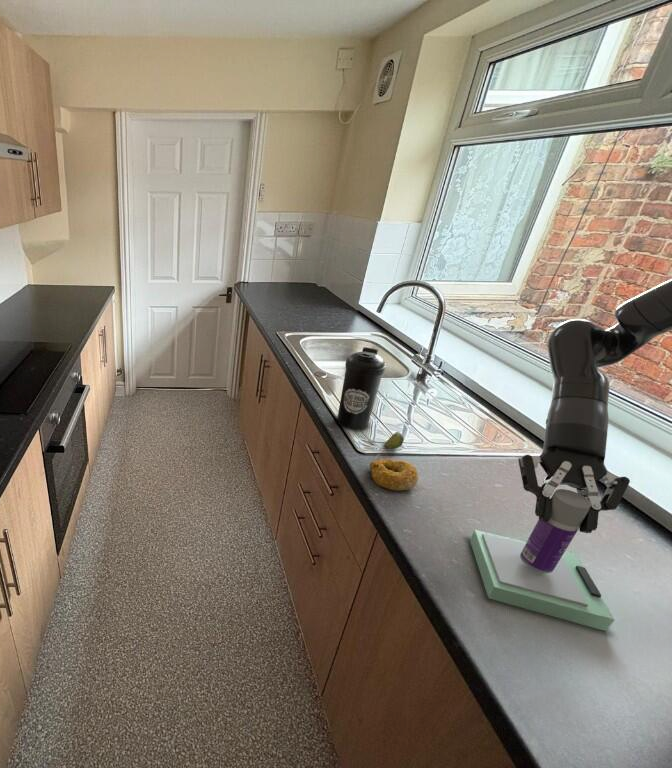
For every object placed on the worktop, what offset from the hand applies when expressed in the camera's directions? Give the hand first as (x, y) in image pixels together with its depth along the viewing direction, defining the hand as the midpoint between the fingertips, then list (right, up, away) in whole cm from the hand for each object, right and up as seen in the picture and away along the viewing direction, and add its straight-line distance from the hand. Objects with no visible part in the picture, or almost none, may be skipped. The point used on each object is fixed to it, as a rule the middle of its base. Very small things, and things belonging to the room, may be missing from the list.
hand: (564, 525), depth 68 cm
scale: (+1, -13, +8) cm, 15 cm away
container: (+1, -9, +6) cm, 11 cm away
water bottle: (-8, +12, +57) cm, 59 cm away
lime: (-3, +6, +46) cm, 46 cm away
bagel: (-10, 0, +34) cm, 35 cm away
